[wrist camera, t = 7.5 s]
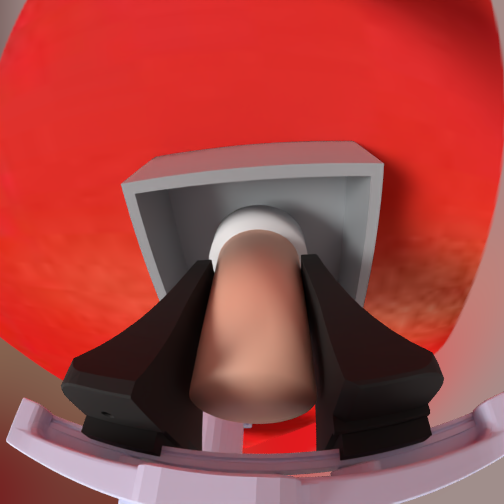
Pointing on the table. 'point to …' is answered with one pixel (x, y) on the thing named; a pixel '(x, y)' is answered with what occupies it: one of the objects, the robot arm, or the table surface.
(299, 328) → the peach cylinder
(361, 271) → the bin
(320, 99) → the table surface
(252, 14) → the table surface
